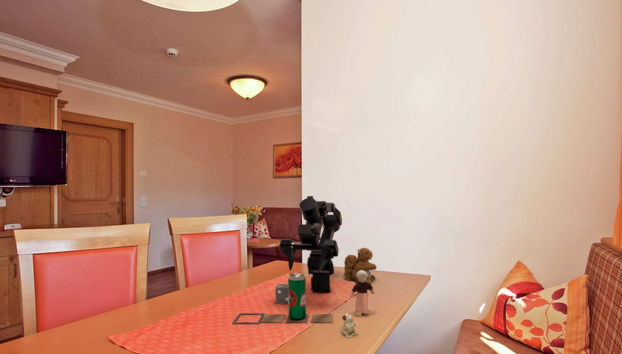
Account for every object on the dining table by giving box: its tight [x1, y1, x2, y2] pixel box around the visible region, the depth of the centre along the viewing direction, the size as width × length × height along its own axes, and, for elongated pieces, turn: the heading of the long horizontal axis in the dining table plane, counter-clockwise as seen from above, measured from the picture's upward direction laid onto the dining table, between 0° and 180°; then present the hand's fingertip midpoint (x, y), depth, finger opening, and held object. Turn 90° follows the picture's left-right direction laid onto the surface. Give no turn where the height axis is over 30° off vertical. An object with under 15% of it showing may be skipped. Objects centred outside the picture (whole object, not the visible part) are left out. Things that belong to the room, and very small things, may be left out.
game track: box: [231, 312, 334, 325], centre depth 95 cm, size 28×8×1 cm, turn 87°
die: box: [275, 283, 289, 305], centre depth 111 cm, size 5×5×5 cm
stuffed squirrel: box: [343, 247, 377, 285], centre depth 137 cm, size 10×14×13 cm
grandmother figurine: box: [349, 270, 375, 317], centre depth 98 cm, size 8×4×13 cm, turn 117°
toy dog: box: [339, 313, 359, 339], centre depth 84 cm, size 4×5×5 cm
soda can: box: [287, 272, 307, 320], centre depth 96 cm, size 5×5×12 cm
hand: (304, 270), depth 103 cm, fingers open, 9 cm apart
